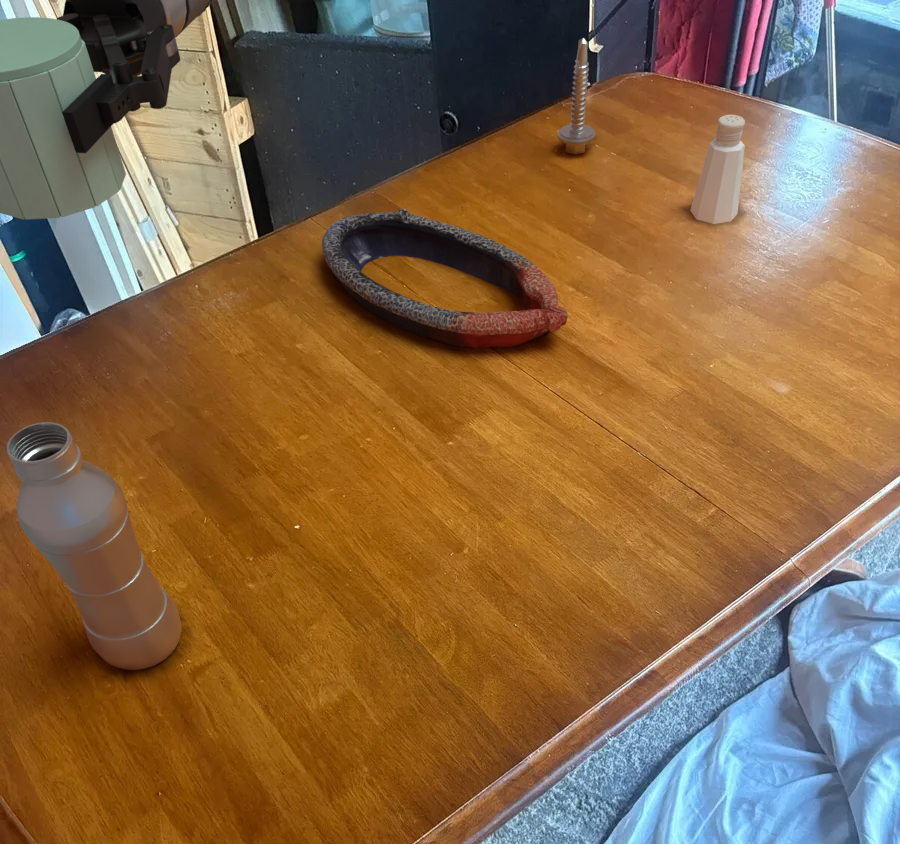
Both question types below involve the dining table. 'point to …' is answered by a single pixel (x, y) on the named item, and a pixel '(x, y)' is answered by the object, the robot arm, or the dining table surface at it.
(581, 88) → the screw
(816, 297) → the dining table surface
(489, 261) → the grey speckled oval ring
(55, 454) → the plastic bottle
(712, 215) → the salt shaker
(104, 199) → the green ribbed canister
